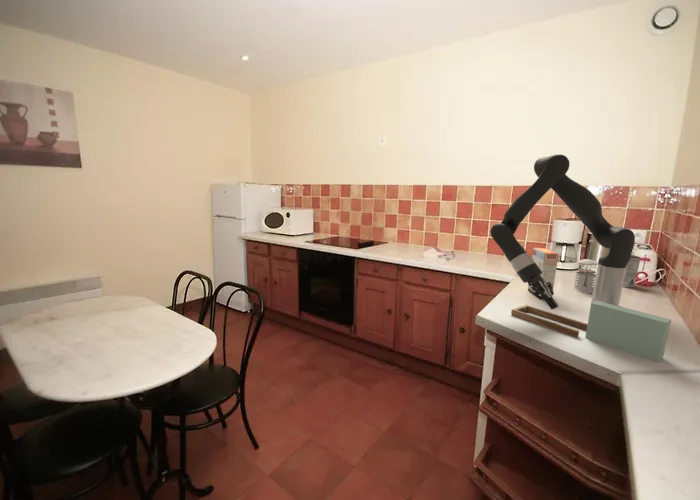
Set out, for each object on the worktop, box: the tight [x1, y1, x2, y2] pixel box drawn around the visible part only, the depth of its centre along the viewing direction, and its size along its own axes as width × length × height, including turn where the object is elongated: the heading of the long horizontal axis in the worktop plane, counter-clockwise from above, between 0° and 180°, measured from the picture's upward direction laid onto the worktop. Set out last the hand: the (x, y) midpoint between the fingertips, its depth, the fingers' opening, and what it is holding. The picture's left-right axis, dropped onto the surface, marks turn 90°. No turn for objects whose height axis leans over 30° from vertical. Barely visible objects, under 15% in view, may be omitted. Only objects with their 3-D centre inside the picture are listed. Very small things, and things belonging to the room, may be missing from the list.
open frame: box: [511, 304, 588, 338], centre depth 118 cm, size 10×22×2 cm, turn 33°
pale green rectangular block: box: [585, 301, 672, 363], centre depth 99 cm, size 4×18×12 cm, turn 33°
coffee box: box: [622, 254, 642, 288], centre depth 167 cm, size 9×6×16 cm
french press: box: [571, 239, 598, 294], centre depth 155 cm, size 10×12×25 cm
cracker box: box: [527, 247, 560, 290], centre depth 148 cm, size 14×6×21 cm, turn 168°
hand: (555, 308), depth 115 cm, fingers closed
